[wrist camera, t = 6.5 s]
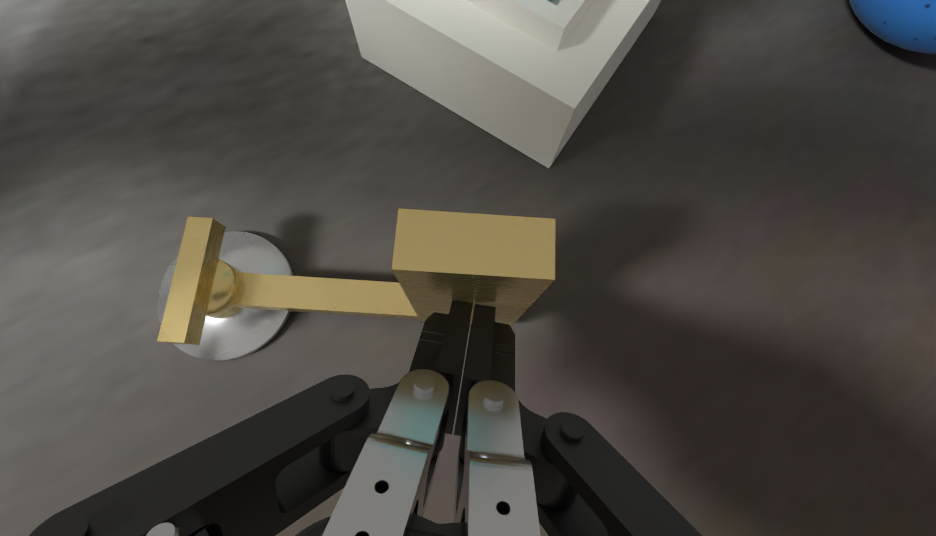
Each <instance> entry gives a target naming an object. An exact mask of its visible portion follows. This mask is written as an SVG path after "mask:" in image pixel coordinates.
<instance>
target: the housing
mask: <svg viewBox="0 0 936 536" xmlns="http://www.w3.org/2000/svg"><path fill="white" fill-rule="evenodd" d="M345 1H346V4H347V8H348V11H349V15H350V18H351V22H352V25H353V29H354V32H355V36H356V39H357V43H358V46H359V50H360V53H361V57H362V58H364V59H366V60H367V61H369V62H371V63H372V64H374V65H376V66H377V67H379V68H381V69H383V70H384V71H386V72H388V73H389V74H391V75H393V76H394V77H396V78H398V79H399V80H401V81H403V82H404V83H406V84H408V85H409V86H411V87H413V88H414V89H416V90H418V91H419V92H421V93H423V94H424V95H426V96H428V97H429V98H431V99H433V100H435V101H436V102H438V103H440V104H441V105H443V106H445V107H446V108H448V109H450V110H451V111H453V112H455V113H456V114H458V115H460V116H461V117H463V118H465V119H466V120H468V121H470V122H471V123H473V124H475V125H476V126H478V127H480V128H481V129H483V130H485V131H487V132H488V133H490V134H492V135H493V136H495V137H497V138H498V139H500V140H502V141H503V142H505V143H507V144H508V145H510V146H512V147H513V148H515V149H517V150H518V151H520V152H522V153H523V154H525V155H527V156H528V157H530V158H532V159H534V160H535V161H537V162H539V163H540V164H542V165H544V166H545V167H547V168H550V166H551V165H552V163H553V162H554V160H555V159H556V158H557V156H558V155H559V153H560V152H561V150H562V149H563V147H564V146H565V144H566V143H567V141H568V140H569V138H570V137H571V135H572V134H573V133H574V131H575V130H576V128H577V127H578V125H579V124H580V122H581V121H582V119H583V118H584V116H585V115H586V113H587V112H588V110H589V109H590V108H591V106H592V105H593V103H594V102H595V100H596V99H597V97H598V96H599V94H600V93H601V91H602V90H603V88H604V87H605V85H606V84H607V83H608V81H609V80H610V78H611V77H612V75H613V74H614V72H615V71H616V69H617V68H618V66H619V65H620V63H621V62H622V60H623V59H624V58H625V56H626V55H627V53H628V52H629V50H630V49H631V47H632V46H633V44H634V43H635V41H636V40H637V38H638V37H639V35H640V34H641V33H642V31H643V30H644V28H645V27H646V25H647V24H648V22H649V21H650V19H651V18H652V16H653V15H654V13H655V11H656V10H657V8H658V6H659V4H660V2H661V0H553V1H552V2H549V1H547V0H345Z"/></svg>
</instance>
